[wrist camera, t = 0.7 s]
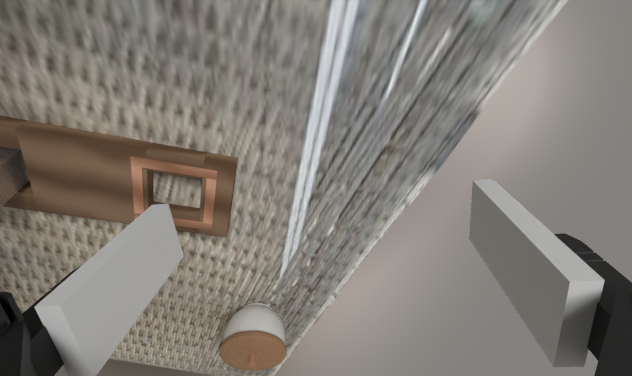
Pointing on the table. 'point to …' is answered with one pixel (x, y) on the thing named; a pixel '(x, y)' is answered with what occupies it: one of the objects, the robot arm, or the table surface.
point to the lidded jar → (254, 338)
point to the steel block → (11, 173)
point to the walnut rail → (114, 176)
